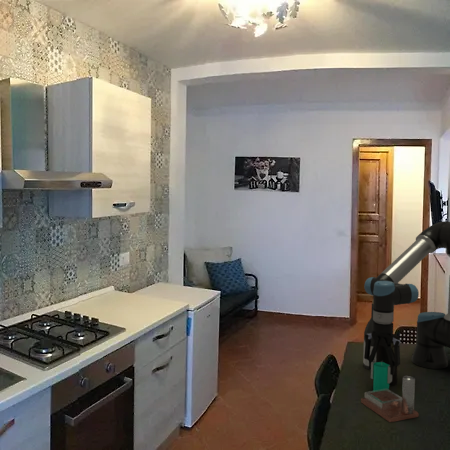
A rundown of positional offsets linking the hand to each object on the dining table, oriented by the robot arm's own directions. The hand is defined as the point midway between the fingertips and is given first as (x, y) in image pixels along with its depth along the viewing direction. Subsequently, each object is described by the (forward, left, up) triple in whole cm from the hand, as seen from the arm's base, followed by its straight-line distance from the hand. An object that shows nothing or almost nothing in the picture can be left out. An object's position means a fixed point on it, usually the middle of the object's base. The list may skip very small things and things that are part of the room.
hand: (381, 379), depth 186 cm
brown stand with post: (+7, +14, -5) cm, 16 cm away
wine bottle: (-13, -22, -5) cm, 26 cm away
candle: (0, 0, -5) cm, 5 cm away
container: (-8, -7, -5) cm, 12 cm away
